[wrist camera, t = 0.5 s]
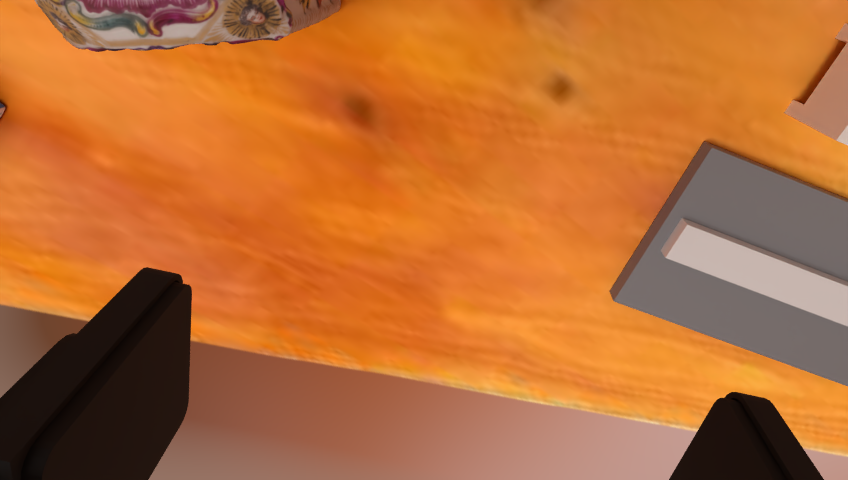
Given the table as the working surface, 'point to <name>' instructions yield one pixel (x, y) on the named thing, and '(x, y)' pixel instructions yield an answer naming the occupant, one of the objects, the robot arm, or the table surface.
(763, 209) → the rail board
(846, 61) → the block
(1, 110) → the ink cartridge box
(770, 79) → the table surface
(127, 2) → the decorative jar
